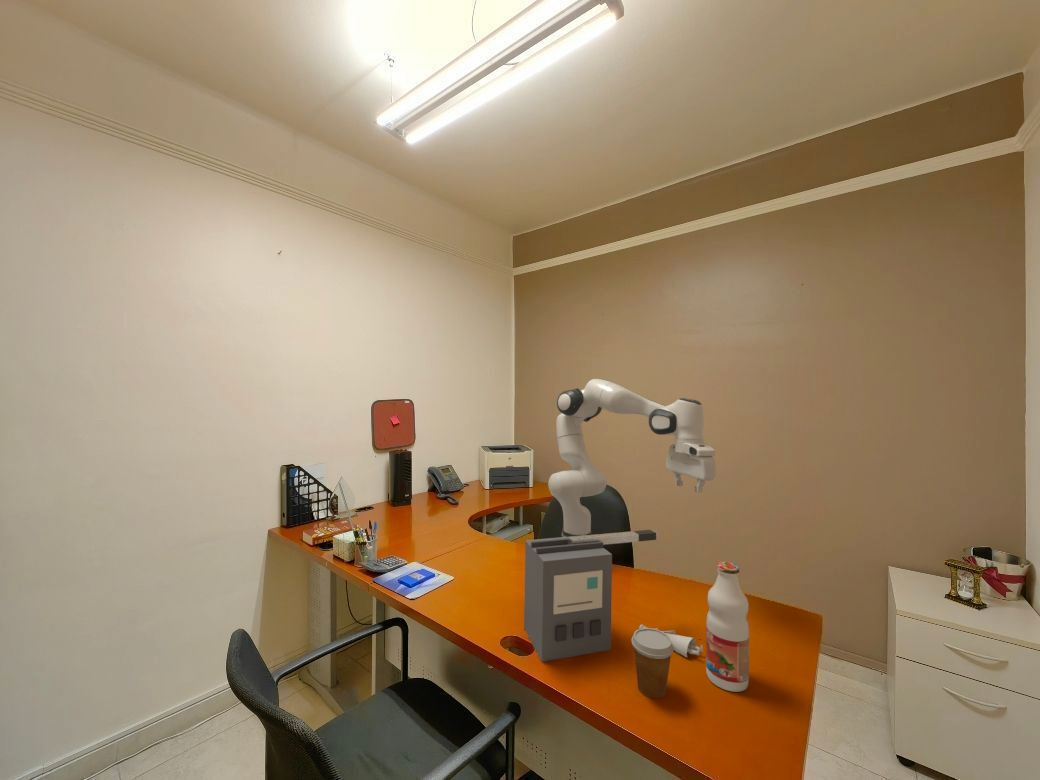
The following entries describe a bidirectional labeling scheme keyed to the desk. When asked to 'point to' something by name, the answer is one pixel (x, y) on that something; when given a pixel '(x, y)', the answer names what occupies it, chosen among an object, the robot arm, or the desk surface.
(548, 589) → the grey grooved block
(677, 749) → the desk surface
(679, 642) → the woman figurine
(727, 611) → the fruit juice
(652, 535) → the bar
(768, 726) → the desk surface
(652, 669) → the disposable coffee cup
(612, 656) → the desk surface
